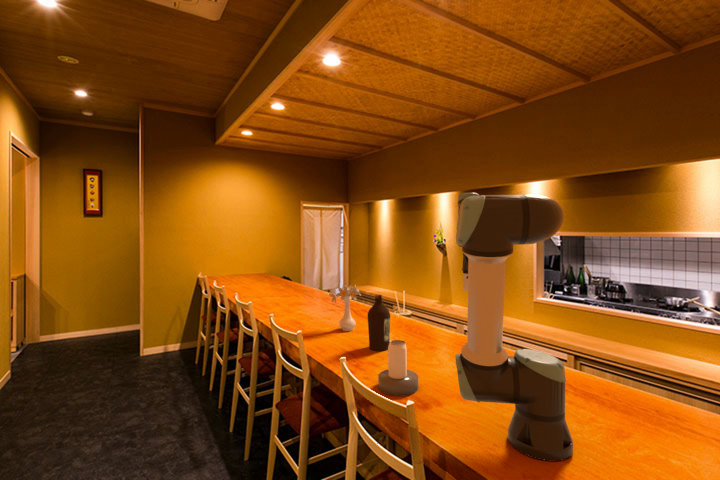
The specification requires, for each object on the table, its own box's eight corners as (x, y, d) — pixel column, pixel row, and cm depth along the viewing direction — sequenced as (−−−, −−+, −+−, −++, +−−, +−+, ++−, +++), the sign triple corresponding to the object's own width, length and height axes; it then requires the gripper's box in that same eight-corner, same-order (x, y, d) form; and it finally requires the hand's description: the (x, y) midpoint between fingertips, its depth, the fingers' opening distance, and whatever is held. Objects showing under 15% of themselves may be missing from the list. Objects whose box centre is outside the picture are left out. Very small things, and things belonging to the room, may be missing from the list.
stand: (418, 397, 124) (418, 385, 124) (376, 394, 126) (376, 383, 126) (418, 380, 138) (418, 369, 138) (380, 378, 140) (380, 367, 140)
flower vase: (326, 330, 206) (325, 285, 205) (352, 324, 218) (351, 282, 217) (341, 335, 196) (340, 288, 195) (367, 329, 208) (366, 284, 208)
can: (392, 380, 128) (391, 346, 128) (385, 373, 134) (385, 340, 134) (409, 378, 130) (409, 344, 129) (402, 371, 136) (402, 338, 136)
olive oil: (364, 350, 173) (363, 296, 172) (372, 343, 182) (372, 292, 182) (386, 352, 169) (385, 297, 168) (393, 345, 178) (392, 293, 177)
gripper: (454, 235, 149) (455, 288, 150) (462, 236, 125) (462, 300, 125) (474, 234, 148) (474, 288, 149) (485, 236, 123) (486, 300, 124)
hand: (469, 293), depth 137 cm, fingers open, 13 cm apart
